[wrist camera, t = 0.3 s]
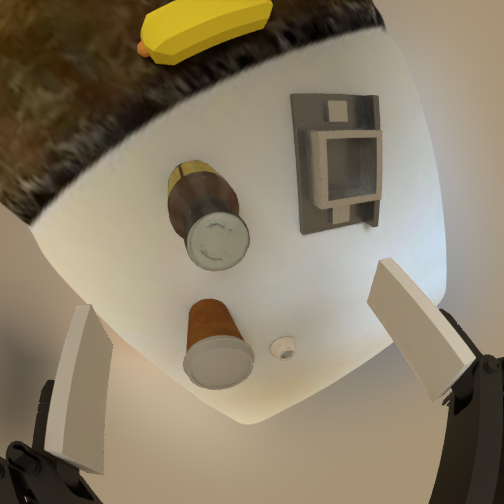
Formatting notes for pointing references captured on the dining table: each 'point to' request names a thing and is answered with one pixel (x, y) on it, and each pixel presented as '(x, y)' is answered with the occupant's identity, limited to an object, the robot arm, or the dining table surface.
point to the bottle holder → (337, 159)
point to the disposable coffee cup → (215, 348)
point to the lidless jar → (283, 348)
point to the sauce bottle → (206, 216)
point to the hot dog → (198, 26)
